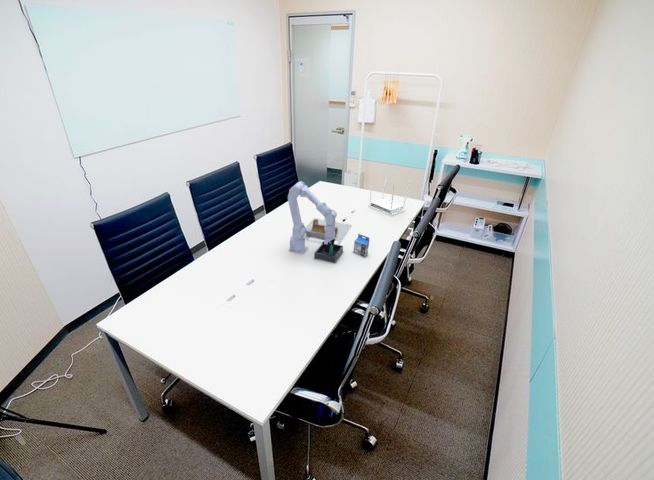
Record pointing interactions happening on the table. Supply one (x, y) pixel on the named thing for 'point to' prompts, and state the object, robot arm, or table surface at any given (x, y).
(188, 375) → the table surface
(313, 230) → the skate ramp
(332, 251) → the bottle
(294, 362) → the table surface
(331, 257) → the bin
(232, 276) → the table surface
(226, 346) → the table surface
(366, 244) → the label tape box
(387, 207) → the router
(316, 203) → the robot arm
